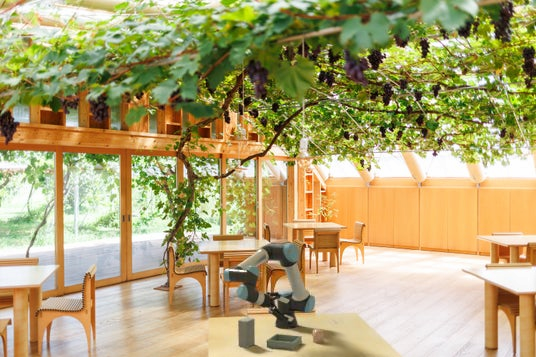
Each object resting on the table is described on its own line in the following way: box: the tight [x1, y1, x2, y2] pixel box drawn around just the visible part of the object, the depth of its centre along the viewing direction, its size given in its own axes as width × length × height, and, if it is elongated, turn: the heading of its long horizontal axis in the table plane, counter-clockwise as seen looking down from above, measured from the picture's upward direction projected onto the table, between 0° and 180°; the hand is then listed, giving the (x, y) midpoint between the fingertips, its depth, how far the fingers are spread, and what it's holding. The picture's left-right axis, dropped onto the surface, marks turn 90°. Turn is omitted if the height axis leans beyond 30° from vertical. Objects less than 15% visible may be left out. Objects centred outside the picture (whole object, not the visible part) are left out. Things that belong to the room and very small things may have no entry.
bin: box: [266, 333, 303, 351], centre depth 301 cm, size 17×15×4 cm
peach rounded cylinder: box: [312, 328, 325, 344], centre depth 306 cm, size 6×6×7 cm
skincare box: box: [237, 316, 256, 349], centre depth 302 cm, size 8×7×16 cm
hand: (290, 310), depth 298 cm, fingers open, 13 cm apart
